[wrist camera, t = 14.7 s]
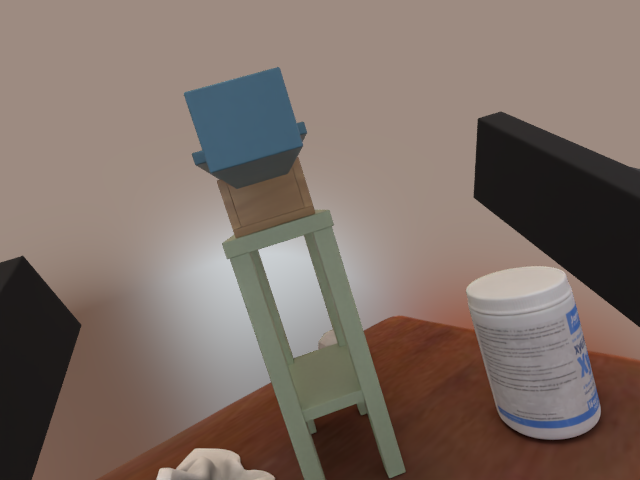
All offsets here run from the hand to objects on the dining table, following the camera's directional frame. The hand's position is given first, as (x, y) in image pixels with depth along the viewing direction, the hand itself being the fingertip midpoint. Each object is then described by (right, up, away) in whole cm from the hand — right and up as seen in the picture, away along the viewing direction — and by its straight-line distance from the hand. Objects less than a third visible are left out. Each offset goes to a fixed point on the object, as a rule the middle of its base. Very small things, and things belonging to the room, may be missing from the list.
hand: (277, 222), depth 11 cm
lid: (-3, +3, +15) cm, 16 cm away
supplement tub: (+25, -19, +29) cm, 43 cm away
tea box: (-4, +1, +30) cm, 30 cm away
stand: (+4, -24, +33) cm, 41 cm away
